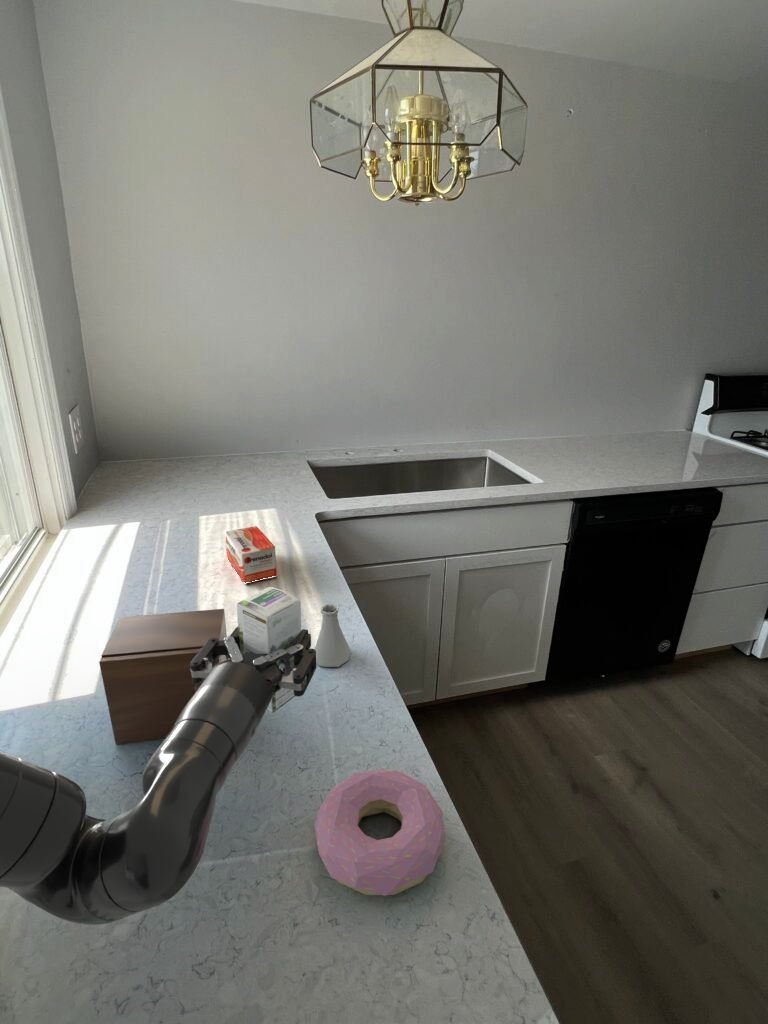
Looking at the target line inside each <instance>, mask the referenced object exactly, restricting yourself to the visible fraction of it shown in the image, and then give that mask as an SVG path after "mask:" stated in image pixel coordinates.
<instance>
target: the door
mask: <svg viewBox="0 0 768 1024" xmlns="http://www.w3.org/2000/svg"><path fill="white" fill-rule="evenodd" d="M201 649H202V648H200V649H189V650H179V651H168V652H157V653H147V654H136V655H125V656H115V657H104V658H102V657H100V659H99V661H98V664H99V668H100V674H101V678H102V683H103V688H104V693H105V698H106V704H107V708H108V713H109V718H110V724H111V728H112V729H111V730H112V733H113V739H114V743H115V745H123V744H131V743H138V742H146V741H147V742H148V741H154V740H155V741H156V740H164V739H165V737H166V736H167V735H168V733H169V732H170V731H171V729H172V728H173V726H174V724H175V723H176V721H177V719H178V717H179V715H180V713H181V712H182V710H183V709H184V707H185V706H186V705H187V703H188V702H189V701H190V699H191V698H192V697H193V695H194V694H195V692H196V691H197V690H198V688H199V687H200V686H201V684H202V683H203V682H204V680H205V679H206V678H204V679H203V680H202V681H201V682H199V683H193V682H192V676H191V667H190V663H191V661H192V660H193V659H194V657H195V656H196V655H197V654H198V652H199V651H200V650H201ZM218 663H220V657H219V658H218V660H217V661H216V662H215V664H214V665H213V667H214V666H215V665H216V664H218ZM213 667H212V668H213Z"/></svg>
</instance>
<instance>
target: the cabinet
mask: <svg viewBox="0 0 768 1024" xmlns="http://www.w3.org/2000/svg"><path fill="white" fill-rule="evenodd" d="M225 612H226V611H225V608H215V609H203V610H193V611H190V610H189V611H180V612H179V611H178V612H168V613H154V614H144V615H143V614H141V615H130V616H120V617H118V618H117V619H118V620H117V621H116V623H115V626H114V628H113V630H112V632H111V634H110V635H109V638H108V641H107V642H106V644H105V647H104V649H103V651H102V653H101V658H104V657H115V656H125V655H136V654H147V653H157V652H168V651H179V650H189V649H200V648H202V647H203V646H204V645H205V644H206V642H207V641H208V640H209V639H210V638H214V637H215V638H218V641H220V640H224V638H225V637H228V636H227V635H228V633H227V624H226V623H227V622H226V614H225ZM225 660H227V659H226V656H225V655H220V662H223V661H225Z"/></svg>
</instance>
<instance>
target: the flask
mask: <svg viewBox="0 0 768 1024" xmlns="http://www.w3.org/2000/svg"><path fill="white" fill-rule="evenodd" d="M339 609H340V606H338V605H336V604H333V603H326V604H324V605H322V606H321V609H320V614H321V615H322V621H321V627H320V630H319V633H318V635H317V639H316V641H315V645H314V646H313V649H315V650H316V665H319V666H320V667H328V668H330V667H331V668H339V667H340V666H342V665H343V664H345V663H346V662H348V661H349V660H350V656H351V648H350V646H349V644H348V641H347V640H346V639H347V638H346V637H345V636H344V632H343V630H342V629H341V625H340V622H339V617H338V614H339Z"/></svg>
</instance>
